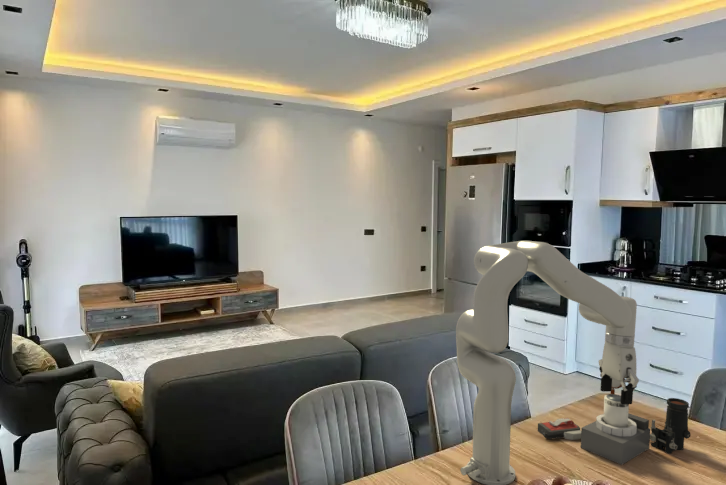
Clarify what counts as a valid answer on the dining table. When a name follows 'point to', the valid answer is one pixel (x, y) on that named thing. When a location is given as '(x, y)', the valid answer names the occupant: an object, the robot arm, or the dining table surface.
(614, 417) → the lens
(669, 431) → the scope
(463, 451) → the dining table surface
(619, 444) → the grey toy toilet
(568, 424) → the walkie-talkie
